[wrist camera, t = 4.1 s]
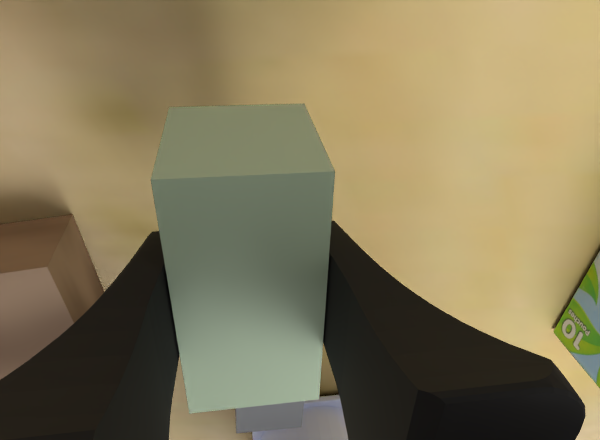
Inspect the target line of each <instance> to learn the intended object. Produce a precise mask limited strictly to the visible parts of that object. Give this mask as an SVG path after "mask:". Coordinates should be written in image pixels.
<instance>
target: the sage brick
mask: <svg viewBox="0 0 600 440" xmlns="http://www.w3.org/2000/svg"><path fill="white" fill-rule="evenodd" d="M334 178H335V170H334V168H333V166H332V164H331V162H330V159H329V157H328V155H327V153H326V151H325V148H324V146H323V144H322V142H321V139H320V137H319V135H318V133H317V131H316V128H315V126H314V124H313V122H312V120H311V117H310V115H309V113H308V111H307V109H306V106H305V104H269V105H230V106H191V107H169V110H168V114H167V118H166V122H165V126H164V130H163V134H162V138H161V142H160V146H159V149H158V153H157V157H156V161H155V165H154V169H153V173H152V177H151V184H152V190H153V196H154V202H155V208H156V214H157V220H158V227H159V233H160V239H161V245H162V251H163V257H164V263H165V269H166V275H167V281H168V287H169V293H170V299H171V305H172V311H173V317H174V323H175V329H176V335H177V341H178V347H179V353H180V360H181V366H182V372H183V378H184V384H185V390H186V396H187V402H188V408H189V414H190V413H199V412H208V411H217V410H226V409H235V408H244V407H253V406H263V405H272V404H281V403H290V402H299V401H308V400H317V399H319V393H320V378H321V364H322V350H323V335H324V321H325V307H326V292H327V278H328V264H329V249H330V235H331V221H332V206H333V192H334Z"/></svg>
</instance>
